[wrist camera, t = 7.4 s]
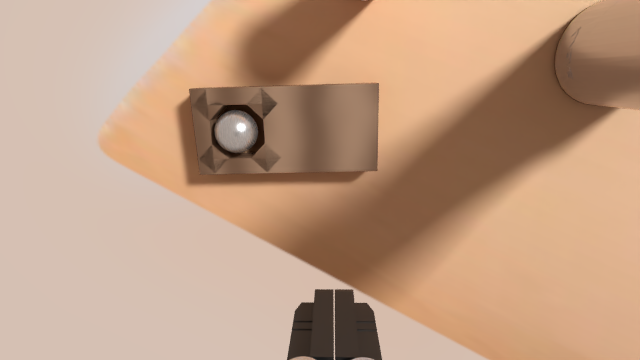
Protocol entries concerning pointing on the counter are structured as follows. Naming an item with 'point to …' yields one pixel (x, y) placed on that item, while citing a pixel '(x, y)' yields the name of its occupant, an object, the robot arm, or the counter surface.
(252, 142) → the ball
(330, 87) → the brown ball holder
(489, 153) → the counter surface
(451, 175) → the counter surface
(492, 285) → the counter surface
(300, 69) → the counter surface
